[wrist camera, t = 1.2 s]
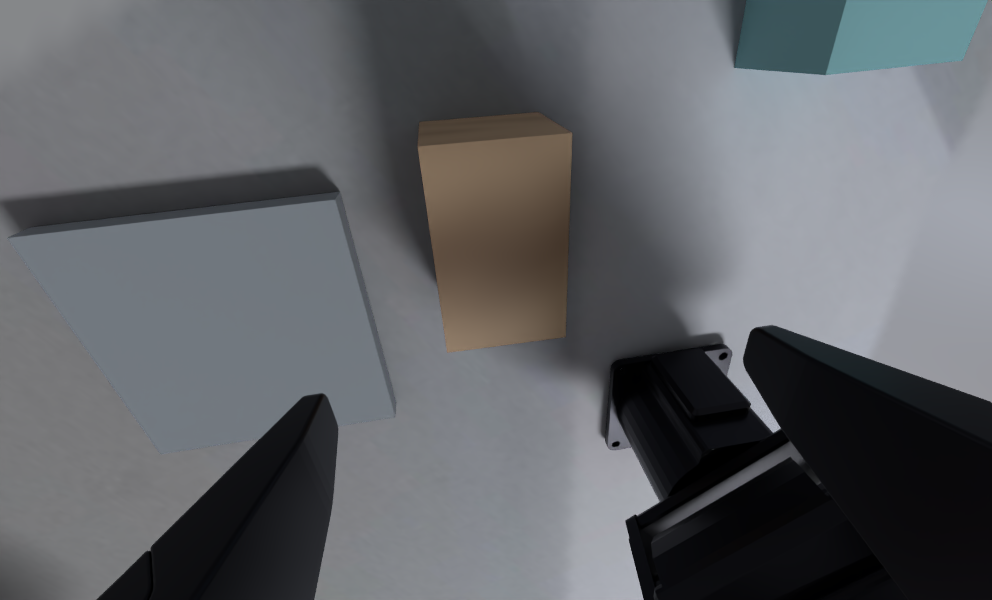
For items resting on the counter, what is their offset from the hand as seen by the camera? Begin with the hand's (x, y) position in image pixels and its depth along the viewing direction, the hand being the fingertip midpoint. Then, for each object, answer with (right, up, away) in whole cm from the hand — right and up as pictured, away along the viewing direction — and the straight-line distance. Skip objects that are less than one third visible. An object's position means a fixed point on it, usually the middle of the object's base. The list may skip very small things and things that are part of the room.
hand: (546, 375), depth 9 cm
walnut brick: (-2, +5, +9) cm, 10 cm away
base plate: (-12, 0, +10) cm, 16 cm away
